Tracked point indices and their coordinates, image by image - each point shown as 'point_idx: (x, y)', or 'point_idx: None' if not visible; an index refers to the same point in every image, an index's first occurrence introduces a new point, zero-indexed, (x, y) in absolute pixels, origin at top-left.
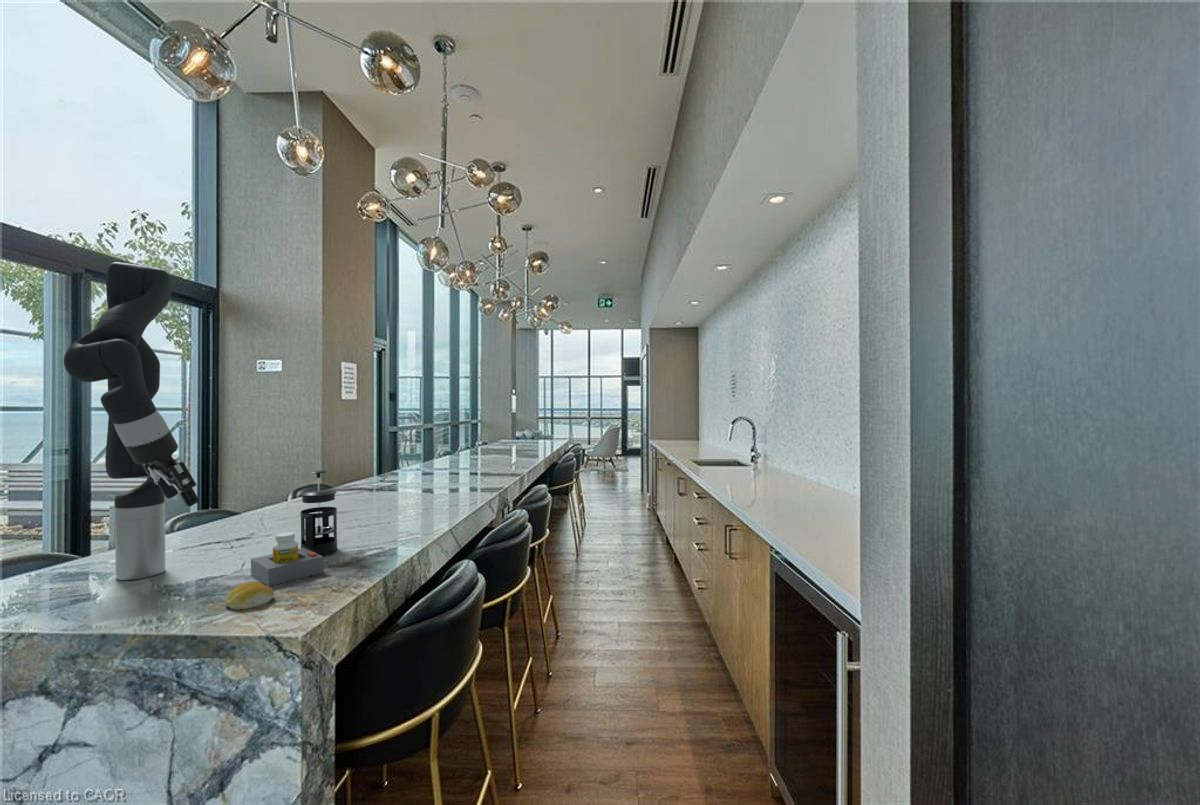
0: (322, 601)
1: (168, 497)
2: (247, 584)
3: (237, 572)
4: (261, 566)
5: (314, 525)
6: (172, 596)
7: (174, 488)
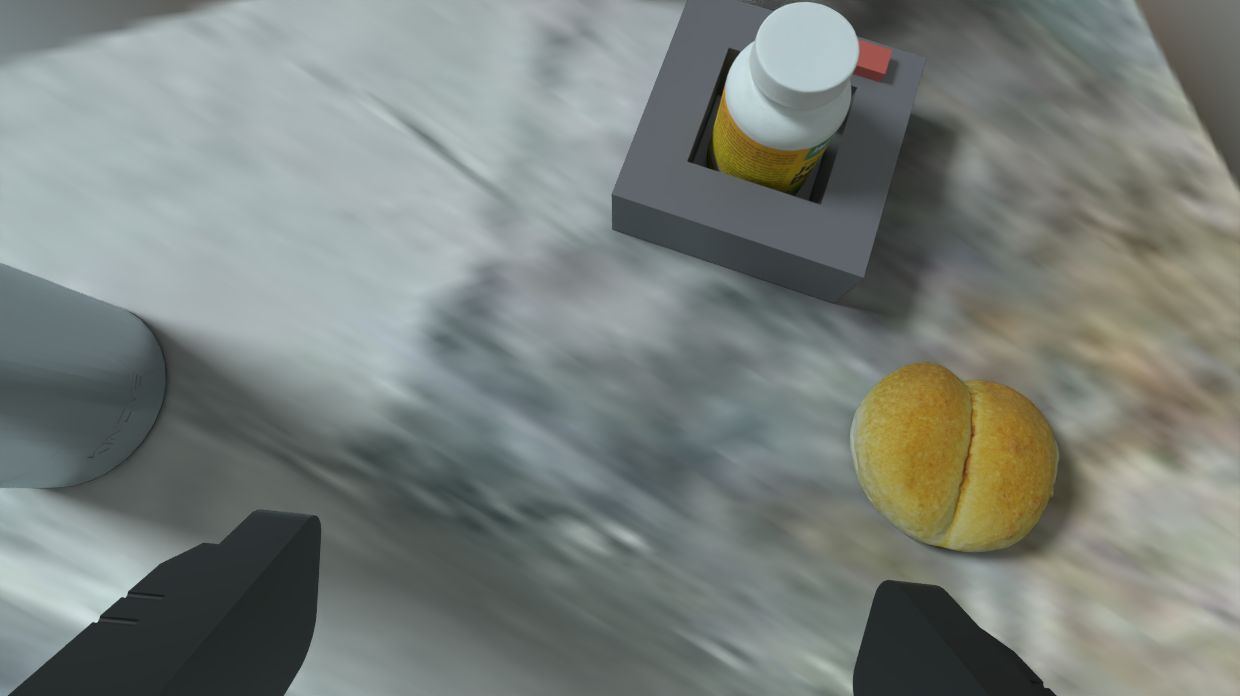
0: (1215, 349)
1: (303, 645)
2: (952, 443)
3: (511, 222)
4: (764, 247)
5: None
6: (543, 533)
7: (264, 587)
